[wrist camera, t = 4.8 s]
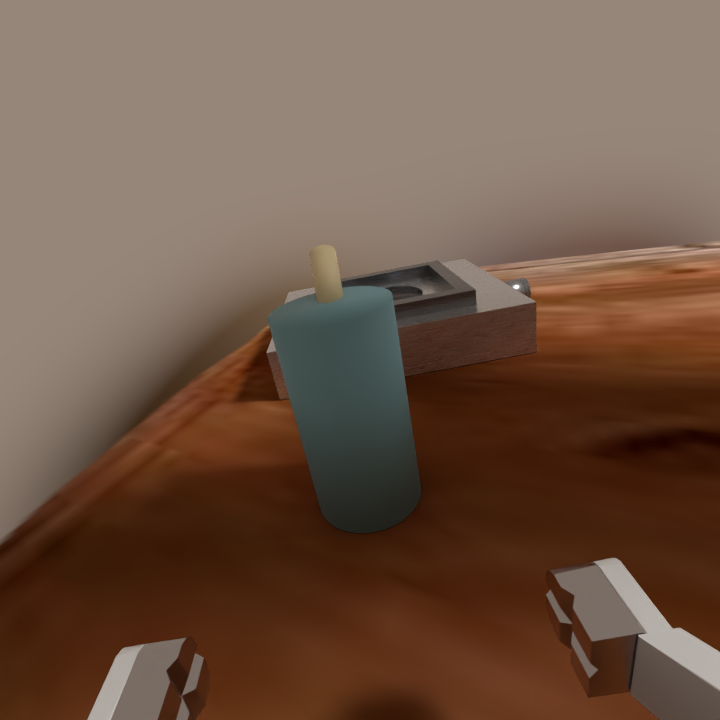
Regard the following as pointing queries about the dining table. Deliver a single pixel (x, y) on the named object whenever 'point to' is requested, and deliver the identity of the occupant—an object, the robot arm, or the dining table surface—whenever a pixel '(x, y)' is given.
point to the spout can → (349, 398)
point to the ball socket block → (446, 316)
